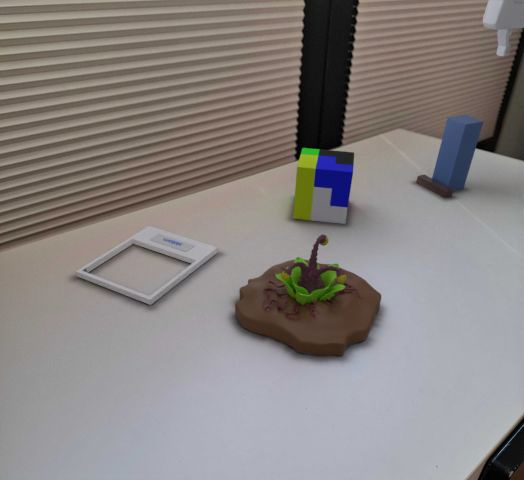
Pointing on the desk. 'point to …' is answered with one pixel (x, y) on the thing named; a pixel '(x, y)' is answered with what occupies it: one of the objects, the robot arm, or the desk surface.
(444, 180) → the toy block
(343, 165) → the puzzle toy
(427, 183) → the bar
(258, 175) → the desk surface
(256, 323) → the plant
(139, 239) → the photo frame
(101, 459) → the desk surface
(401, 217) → the desk surface
